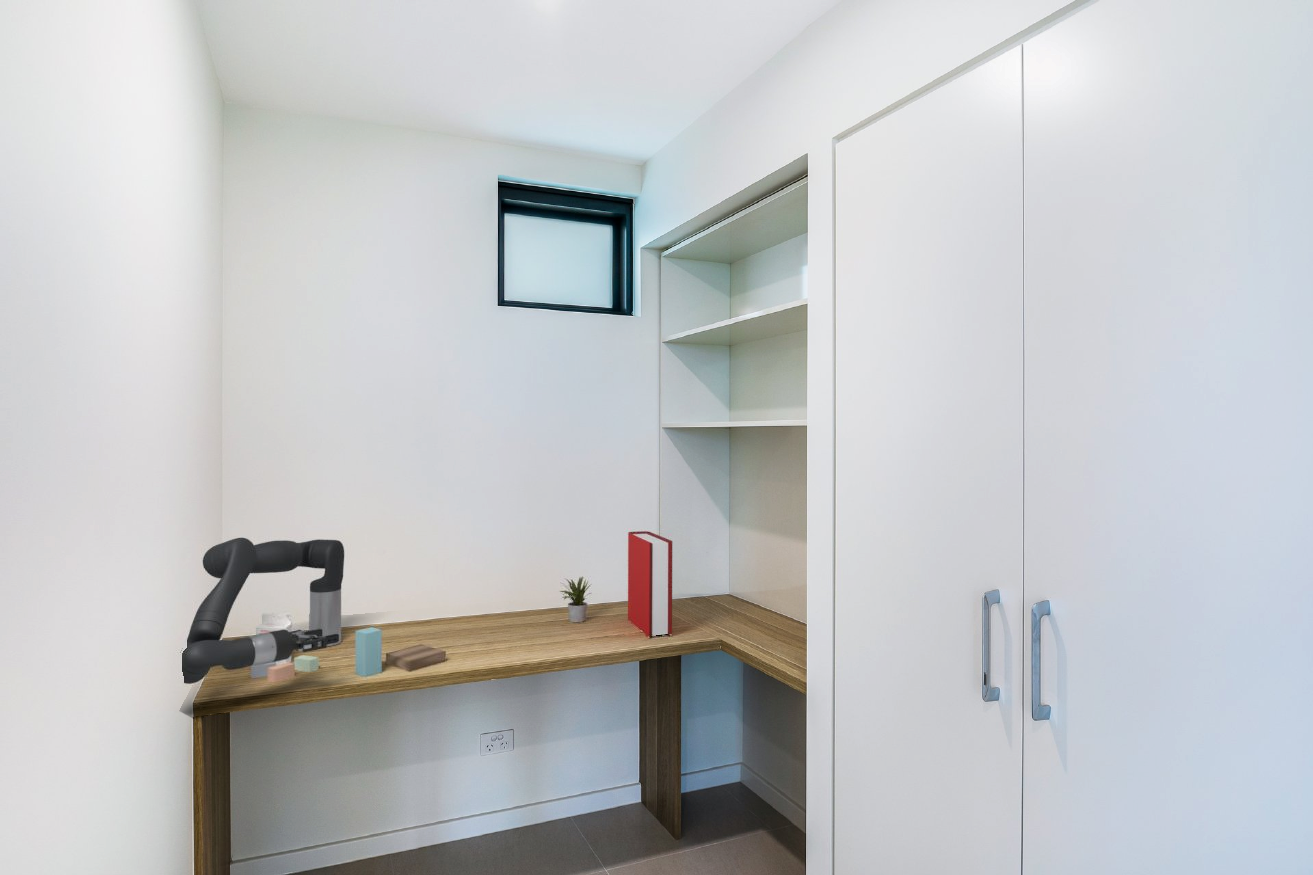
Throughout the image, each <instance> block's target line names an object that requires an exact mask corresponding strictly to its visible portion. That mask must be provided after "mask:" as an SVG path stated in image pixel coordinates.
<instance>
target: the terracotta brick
mask: <svg viewBox="0 0 1313 875" xmlns="http://www.w3.org/2000/svg"><path fill="white" fill-rule="evenodd" d="M295 676H296V670H295V664H294V662H291V663H289V662H286V663H283V664H280V665H276V666H273V667H270V668H268V677H267V681H268V682H272V683H276V682H277V683H278V682H279V681H283V680H286V679H289V678H292V677H295Z"/></svg>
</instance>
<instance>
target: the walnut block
mask: <svg viewBox="0 0 1313 875" xmlns="http://www.w3.org/2000/svg"><path fill="white" fill-rule="evenodd" d="M446 654H447V653H446V650H442V649H439V648H435V647H432V646H428V645H425V644H421V643H420V644H417V645H413V646H410V647H409V646H408V647H405V648H402V649H397V650H394V651H390V652H386V653H385V664H386V665H389V666H392V667H395V668H398V669H401V670H405V671H406V672H414V671H417V670H421V669H424V668H427V667H431V665H432V666H435V665H439V664H441V662H442V663H444V662H445V661H446V660H447V658H446V657H447V656H446ZM438 663H439V664H438Z"/></svg>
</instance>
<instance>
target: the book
mask: <svg viewBox="0 0 1313 875" xmlns="http://www.w3.org/2000/svg"><path fill="white" fill-rule="evenodd" d="M627 533H628V534H627V535H628V537H627V538H628V539H627V542H628V543H627V554H628V555H627V621H628V620H629V621H631V622H630V623H631V624H632V623H633V624H634V625H635V626H637V627H638V628H639V629H640V630H642V631H643V632H644V633H645V634H646V635H647V636H649V637H651V636H652V637H657V636H656V635H661V634H672V635H673V540H671V539H668V538H666V537H663V536H661V535H659V534H656V533H654V532H651V531H646V530H645V531H642V530H641V531H628V532H627ZM629 621H628V622H629ZM633 624H632V625H633ZM634 625H633V626H634ZM635 626H634V627H635ZM639 629H638V630H639ZM640 630H639V631H640ZM646 635H645V636H646ZM647 636H646V637H647ZM652 637H651V638H652Z"/></svg>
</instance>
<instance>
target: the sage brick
mask: <svg viewBox="0 0 1313 875" xmlns="http://www.w3.org/2000/svg"><path fill="white" fill-rule="evenodd" d="M319 659H320V658H319V656H313V655H311V656H310V655H304V654H302V655H299V656H296V657H294V658H293V663H294V664H295V671H300V672H306V673H311V672H314V671H317V670H319V668H320V667H319V664H320V663H319V662H320V660H319Z"/></svg>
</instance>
